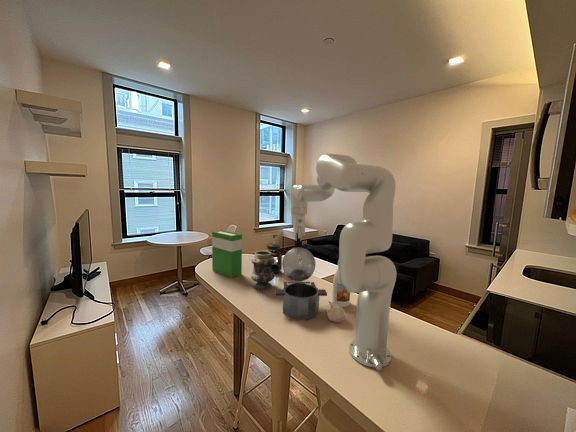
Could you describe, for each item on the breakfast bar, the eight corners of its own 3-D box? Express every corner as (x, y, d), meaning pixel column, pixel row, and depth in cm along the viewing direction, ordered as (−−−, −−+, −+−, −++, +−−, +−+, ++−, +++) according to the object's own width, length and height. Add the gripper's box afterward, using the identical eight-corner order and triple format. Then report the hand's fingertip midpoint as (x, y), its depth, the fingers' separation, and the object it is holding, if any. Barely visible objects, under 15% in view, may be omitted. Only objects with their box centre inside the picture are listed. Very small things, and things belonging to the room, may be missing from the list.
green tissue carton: (212, 270, 146) (212, 231, 144) (222, 267, 152) (222, 230, 149) (231, 277, 136) (231, 235, 133) (241, 274, 142) (241, 234, 139)
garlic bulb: (332, 314, 100) (333, 296, 99) (346, 320, 96) (347, 301, 95) (324, 321, 94) (325, 301, 94) (338, 327, 90) (340, 307, 89)
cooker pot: (329, 320, 95) (330, 298, 94) (275, 320, 94) (275, 298, 93) (321, 300, 111) (321, 282, 110) (274, 300, 110) (275, 281, 109)
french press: (261, 271, 148) (262, 234, 145) (273, 268, 154) (274, 232, 152) (274, 276, 139) (275, 237, 137) (286, 273, 146) (287, 235, 143)
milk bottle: (329, 305, 108) (331, 261, 105) (334, 298, 114) (337, 257, 112) (346, 309, 104) (349, 264, 102) (351, 302, 111) (353, 260, 108)
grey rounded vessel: (275, 282, 131) (276, 250, 129) (271, 292, 119) (272, 256, 117) (253, 281, 132) (254, 248, 130) (248, 290, 120) (248, 255, 118)
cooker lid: (315, 247, 112) (314, 247, 114) (282, 247, 111) (282, 247, 113) (315, 283, 109) (314, 282, 112) (282, 283, 108) (281, 282, 111)
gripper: (309, 212, 108) (307, 252, 110) (304, 209, 123) (303, 245, 125) (292, 212, 108) (291, 252, 110) (290, 209, 122) (289, 244, 125)
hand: (297, 248), depth 117 cm, fingers closed
